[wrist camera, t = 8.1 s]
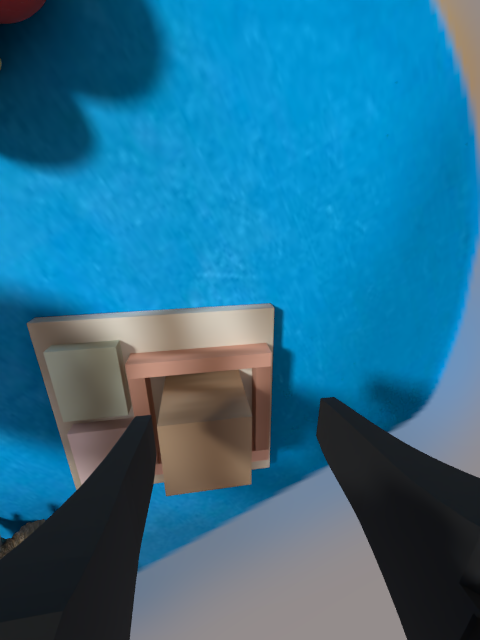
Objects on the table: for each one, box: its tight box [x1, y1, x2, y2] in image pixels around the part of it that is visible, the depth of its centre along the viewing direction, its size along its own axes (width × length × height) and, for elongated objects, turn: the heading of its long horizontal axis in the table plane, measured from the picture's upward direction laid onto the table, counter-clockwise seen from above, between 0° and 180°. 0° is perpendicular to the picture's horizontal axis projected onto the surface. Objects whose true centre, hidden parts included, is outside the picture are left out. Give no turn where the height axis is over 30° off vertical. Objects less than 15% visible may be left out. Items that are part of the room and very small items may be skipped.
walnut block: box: [157, 369, 252, 496], centre depth 18 cm, size 5×5×5 cm
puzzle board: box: [27, 303, 274, 490], centre depth 20 cm, size 15×14×2 cm
